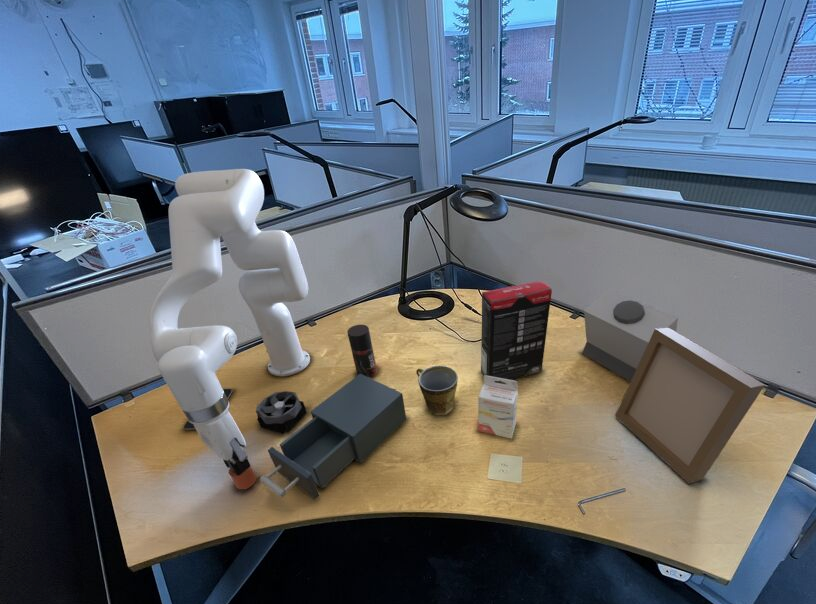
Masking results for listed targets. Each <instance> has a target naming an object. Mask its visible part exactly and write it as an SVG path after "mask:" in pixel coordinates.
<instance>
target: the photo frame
mask: <svg viewBox="0 0 816 604" xmlns="http://www.w3.org/2000/svg"><path fill="white" fill-rule="evenodd" d="M629 382H630V381H629ZM765 386H766V384H765V383H763V382H761V381H759V380H758V379H756V378H754V377H752V376H750V374H748V373H746V372H744V371H743V370H741V369H739V368H737V366H736V367H735V366H734V365H732V363H731V364H730V363H729V362H728V361H726V360H724V359H723V358H721V357H719V356H717V355H716V354H714V353H712V352H711V351H709V350H707V349H705V348H704V347H702V346H700V345H699V344H697V343H696V342H694V341H692V340H691V339H689V338H687V337H686V336H684V335H682V334H680V333H679V332H677V331H676V332H675V331H673V330H672V329H670V328H659V329H655V330H654V332H653V334H652V337H651V339H650V341H649V343H648V345H647V347H646V350H645V352H644V354H643V356H642V358H641V360H640V363H639V365H638V367H637V369H636V371H635V373H634V376H633V378H632V380H631V382H630V383H629V385H628V387H627V388H626V391H625V393H624V395H623V398H622V400H621V402H620V404H619V406H618V408H617V410H616V413H615V416H614V417H615V418H616V419H618V421H620V422H621V423H622V424H623V425H624V426H625V427H626V428H627V429H628V430H630V432H632V433H633V434H634V435H635V436H636V437H637V438H638V439H639V440H640V441H641V442H642V443H644V444H645V445H646V446H647V447H648V448H649V449H651V451H652V452H654V453H655V454H656V455H657V456H658V457H659V458H660V459H661V460H662V461H664V462H665V464H667V465H668V466H669V467H670V468H671V469H672V470H674V472H676V473H677V474H678V476H680V477H681V478H682V479H683V480H684V481H685V482H687V483H688V484H693V483H695V482H698V481H702V480H704V478H705V477H706V475H707V474H708V472H709V470H710V469H711V467H712V466H713V465H714V464H715V461H716V460H717V459H718V457H719V455H721V452H722V451H723V449H725V447H726V445H727V443H728V442H729V440H730V439H731V437H732V436H733V435H734V433H735V432H736V430H737V428H738V427H739V425H740V424H741V422H742V421H743V419H744V418H745V416H746V415H747V413H748V412H749V410H750V408H751V407H752V406H753V404H754V403H755V401H756V400H757V398H758V396H760V394H761V392H762V391H763V390H764V387H765Z"/></svg>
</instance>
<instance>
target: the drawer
mask: <svg viewBox="0 0 816 604" xmlns="http://www.w3.org/2000/svg"><path fill="white" fill-rule="evenodd" d="M279 447H280V450H281V451H279V450H277V449H276V448H274V446H270V447H269V448H268V449H267V452H268V454H269V457H270V459H271V461H272V463H273V465H274V467H275V468H273V469H272V470H271V471H270V472H268V473H267V474H266V475H262V476H261V477H260V478H259V480H260V482H261V483H262V484H264V485H265V486H266V487H267V488H268V489H270V490H271V491H272V492H274V493H275V494H276V495H277V496H279V497H280V498H285V496H286V495H287V492H288V491H289V490H291V489H292V488H293V487H294V486H296V487H297V488H299V489H300V490H301V491H303V492H304V493H306V494H307V495H308V496H310V497H311V498H312V499H314V500H317V499H318V498H319V497H320V492H319V490H318V488H317V487H319V488H320V489H324V488H325V487H326V486H327V485H328V484H329V483H330V482H331V481H333V479H334V478H336V477H337V476H338V475H339V474H340V473H341V472H342V471H343V470H344V469H346V467H348V465H349V464H351V463H352V462H353V461H354V459H355V458H356V457H357V456H356V452H355V449H354V445H353V442H352V438H351V437H349V436H348V435H346V434H344V433H343V432H341V431H339V430H338V429H336V428H334V427H332V426H331V425H329V424H327V423H326V422H324V421H322V420H321V419H319V418H317V417H314V418H312V419H310V420H309V421H308V422H306V423H305V424H304V425H303V426H302V427H300V428H298V429H297V430H296V431H295V432H294V433H292V434H291V435H289V437H287V438H286V439H284V440H283V441H282V442H281V443H280V444H279ZM276 473H279V474H280V475H282V476H283V477H284V478H286V479H287V480H288V481H289V482H290V483H288V485H287V486H285V487H284V488H283V487H281V486H280V485H279V484H278V483H276V482H275V481H274V480H272V479H271V478H272V477H273V476H274V475H275V474H276Z"/></svg>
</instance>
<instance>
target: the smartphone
mask: <svg viewBox="0 0 816 604" xmlns="http://www.w3.org/2000/svg"><path fill="white" fill-rule="evenodd" d="M222 389H223V391H224V393H225V395H226V397H227V399H228V400H229V398H230V397H231V396H232V393H233V389H232V388H222ZM183 428H184V430H187V431H188V430H189V431H192V430H196V429H195V427H194V425H193V424H192V423H190V422H189V421H188V420H187V421H186V422H185V424H184V425H183Z"/></svg>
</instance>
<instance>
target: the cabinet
mask: <svg viewBox="0 0 816 604" xmlns="http://www.w3.org/2000/svg"><path fill="white" fill-rule="evenodd" d="M310 415H311V418H312V419H313V418H314V417H317V418H319V419H321V420H322V421H324V422H326V423H327V424H329V425H331V426H332V427H334V428H336V429H338V430H339V431H341V432H343V433H344V434H346V435H348V436H349V437H351V438H352V442H353V445H354V449H355V452H356V456H357V457H356V458H355V459H354V460H355V461H356V462H357V463H359V464H361V463H363V462H364V461H365V460H366V459H367V458H368V457H369V456H370V455H371V454H372V453H373V452H374V451H376V449H377V448H378V447H380V446H381V445H382V444H383V443H384V442H385V441H386V440H387V438H389V437H390V436H391V435H392V434H393V433H394V432H395V431H397V429H398V428H400V426H401V425H402V424H404V422H405V421H407V413H406V408H405V402H404V396H403V392H400V391H398V390H397V389H395V388H392V387H389V386H387V385H386V384H383V383H381V382H379V381H377V380H375V379H372V377H370V378H369V377H367V376H364V375H362V374H359V375H356V376H355V377H353V379H351V380H350V381H349V382H347V383H346V384H345V385H343V386H341V387H340V388H339V389H337V390H336V391H335V392H334V393H333V394H331V395H330V396H329V397H327V398H326V399H324V400H323V401H322V402H321V403H319V404H318V405H316V407H314V408H313V409H312V410H310ZM354 460H353V461H354Z"/></svg>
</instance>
